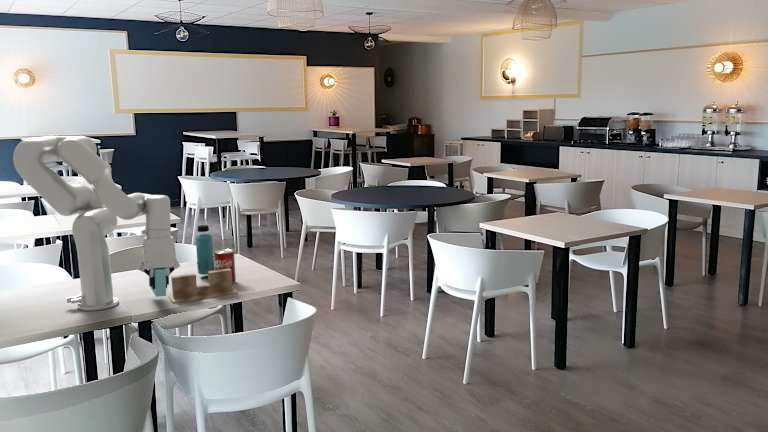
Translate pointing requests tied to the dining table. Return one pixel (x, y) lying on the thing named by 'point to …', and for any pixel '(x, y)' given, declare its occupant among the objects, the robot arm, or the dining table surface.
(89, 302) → the robot arm
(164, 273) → the teal rectangular block
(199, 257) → the beverage bottle
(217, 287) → the walnut slotted stand
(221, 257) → the soda can
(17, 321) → the dining table surface
